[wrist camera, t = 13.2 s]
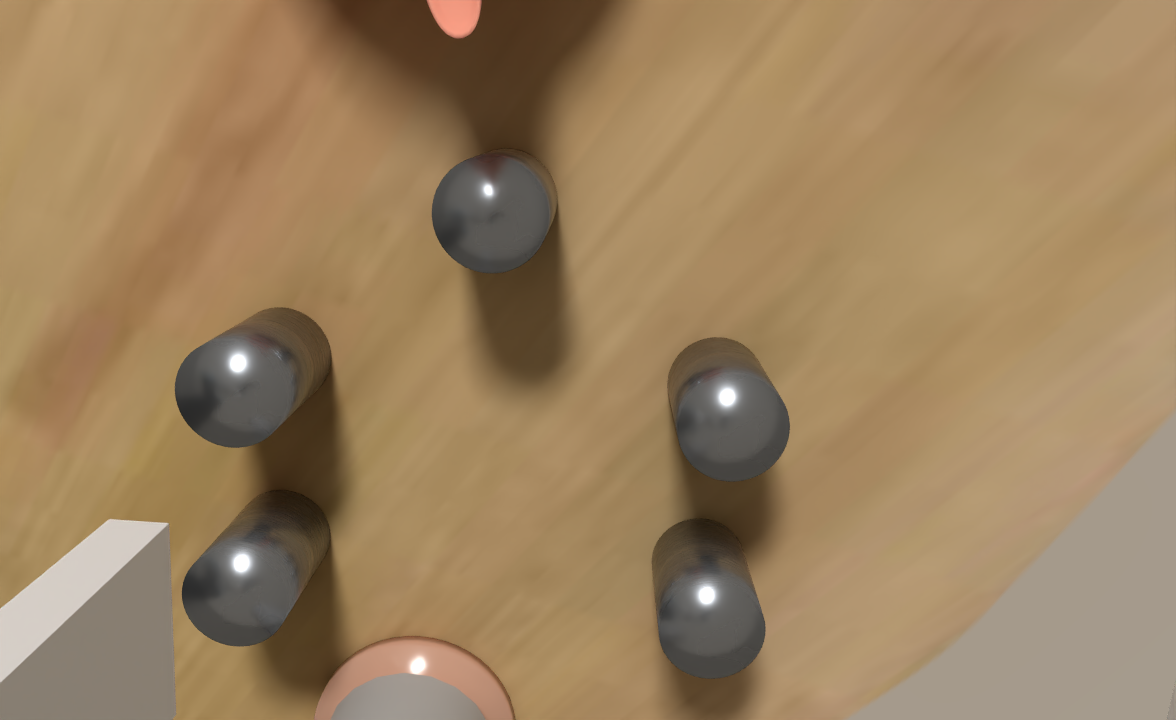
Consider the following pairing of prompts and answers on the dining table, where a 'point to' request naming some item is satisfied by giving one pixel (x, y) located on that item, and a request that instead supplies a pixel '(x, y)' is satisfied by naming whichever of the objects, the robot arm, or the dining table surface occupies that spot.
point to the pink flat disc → (419, 673)
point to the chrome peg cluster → (302, 362)
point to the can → (406, 700)
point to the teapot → (456, 16)
